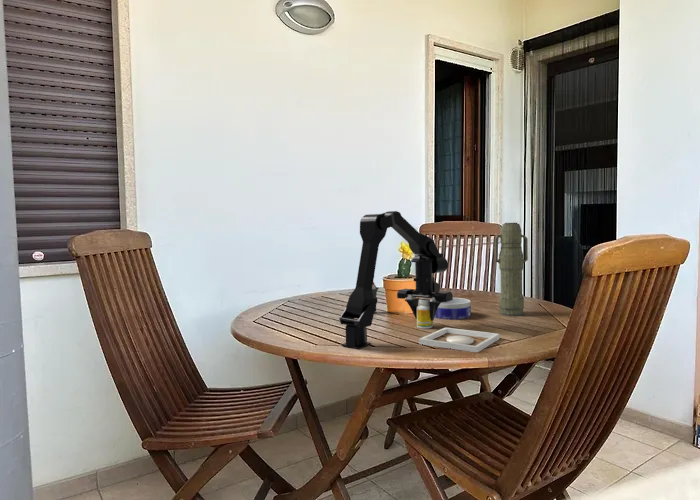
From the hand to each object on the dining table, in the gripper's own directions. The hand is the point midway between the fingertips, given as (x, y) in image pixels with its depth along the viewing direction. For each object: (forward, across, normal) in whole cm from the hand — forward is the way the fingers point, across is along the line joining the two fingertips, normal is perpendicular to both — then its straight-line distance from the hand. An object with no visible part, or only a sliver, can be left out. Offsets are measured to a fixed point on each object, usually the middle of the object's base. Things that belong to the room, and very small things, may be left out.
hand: (424, 320), depth 163 cm
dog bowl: (+3, +1, -23) cm, 23 cm away
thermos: (+3, -18, -37) cm, 41 cm away
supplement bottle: (+3, 0, 0) cm, 3 cm away
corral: (+2, -18, +12) cm, 22 cm away
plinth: (+2, -18, +12) cm, 22 cm away
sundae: (+3, +31, -13) cm, 34 cm away
